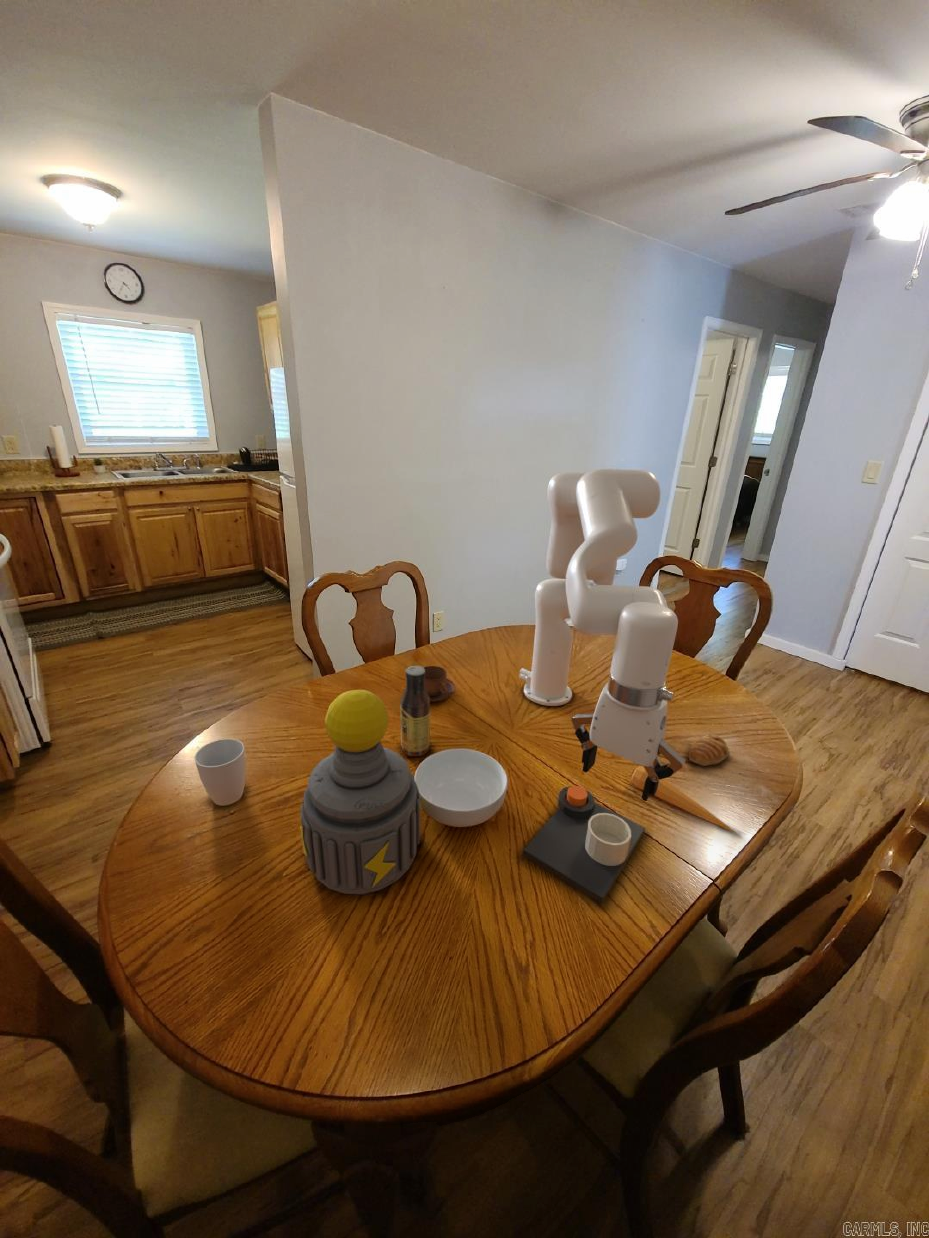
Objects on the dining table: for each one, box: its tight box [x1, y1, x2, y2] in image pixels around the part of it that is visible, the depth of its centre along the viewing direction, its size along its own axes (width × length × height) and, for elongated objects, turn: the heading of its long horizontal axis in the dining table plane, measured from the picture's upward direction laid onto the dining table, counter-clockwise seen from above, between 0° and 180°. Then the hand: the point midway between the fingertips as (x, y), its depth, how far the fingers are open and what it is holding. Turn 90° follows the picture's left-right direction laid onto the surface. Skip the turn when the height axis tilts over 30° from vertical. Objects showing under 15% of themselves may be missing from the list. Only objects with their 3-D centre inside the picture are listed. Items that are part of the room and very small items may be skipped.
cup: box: [193, 738, 247, 807], centre depth 92 cm, size 8×8×10 cm
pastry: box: [688, 734, 731, 767], centre depth 109 cm, size 9×7×4 cm
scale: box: [522, 785, 646, 905], centre depth 86 cm, size 15×18×3 cm
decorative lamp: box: [299, 689, 423, 895], centre depth 78 cm, size 19×19×30 cm
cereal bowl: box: [413, 748, 509, 828], centre depth 92 cm, size 17×17×7 cm
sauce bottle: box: [399, 665, 431, 758], centre depth 105 cm, size 7×6×20 cm
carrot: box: [630, 765, 737, 834], centre depth 95 cm, size 20×4×4 cm, turn 48°
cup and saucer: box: [423, 665, 456, 703], centre depth 129 cm, size 12×12×6 cm
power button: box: [566, 785, 588, 807], centre depth 92 cm, size 4×4×2 cm
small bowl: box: [585, 813, 631, 866], centre depth 82 cm, size 7×7×4 cm
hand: (616, 781), depth 79 cm, fingers open, 9 cm apart
